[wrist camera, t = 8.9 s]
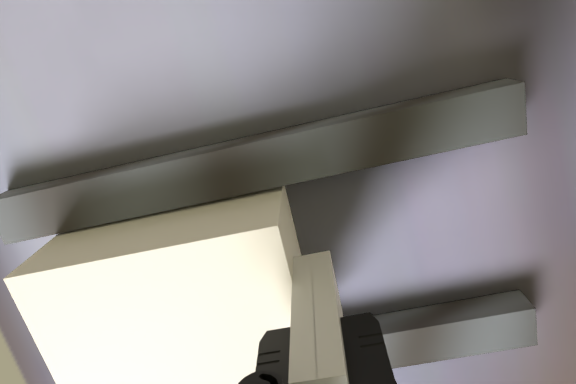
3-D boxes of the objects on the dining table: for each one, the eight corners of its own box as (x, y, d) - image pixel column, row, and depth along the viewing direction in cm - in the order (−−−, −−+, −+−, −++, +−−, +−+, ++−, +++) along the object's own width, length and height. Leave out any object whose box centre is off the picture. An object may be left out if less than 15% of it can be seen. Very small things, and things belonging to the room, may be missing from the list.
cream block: (283, 178, 19) (277, 225, 14) (314, 311, 21) (318, 388, 17) (72, 222, 20) (3, 279, 15) (124, 343, 22) (77, 425, 18)
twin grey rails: (506, 78, 17) (524, 82, 16) (521, 324, 21) (537, 345, 20) (6, 190, 20) (-17, 202, 18) (103, 394, 23) (90, 417, 22)
